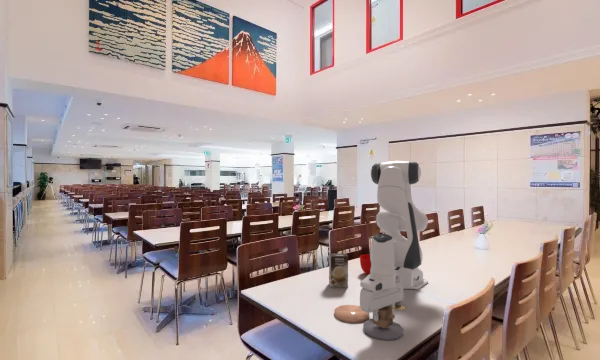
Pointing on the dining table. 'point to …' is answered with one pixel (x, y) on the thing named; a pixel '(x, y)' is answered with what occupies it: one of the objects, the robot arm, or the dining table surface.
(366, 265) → the ceramic cup
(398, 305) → the balance
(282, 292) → the dining table surface
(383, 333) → the charcoal dish
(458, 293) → the dining table surface
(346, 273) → the coffee box
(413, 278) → the robot arm
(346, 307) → the terracotta dish
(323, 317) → the dining table surface
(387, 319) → the walnut block
